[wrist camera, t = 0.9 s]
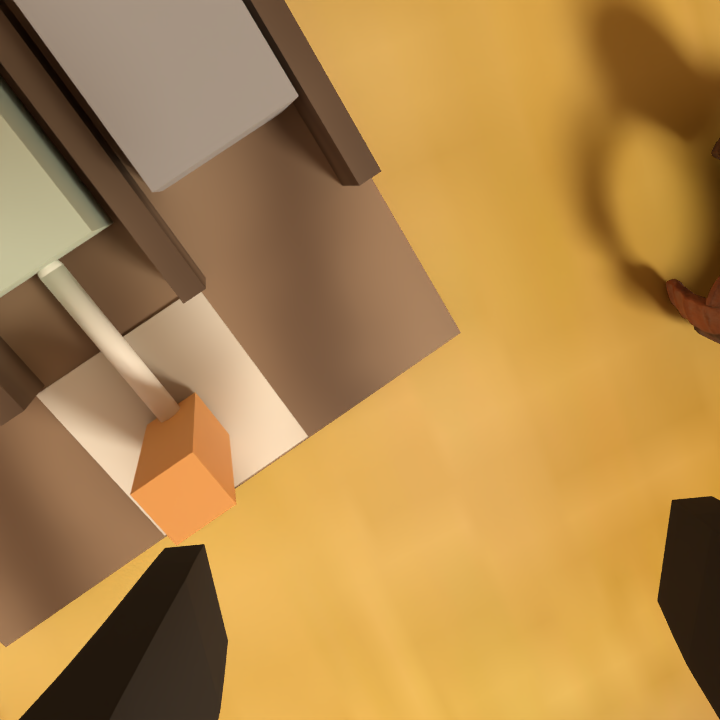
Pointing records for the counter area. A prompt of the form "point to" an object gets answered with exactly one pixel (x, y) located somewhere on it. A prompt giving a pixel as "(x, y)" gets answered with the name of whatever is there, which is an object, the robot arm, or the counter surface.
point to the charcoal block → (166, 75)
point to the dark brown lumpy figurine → (699, 299)
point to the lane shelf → (193, 314)
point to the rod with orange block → (105, 324)
